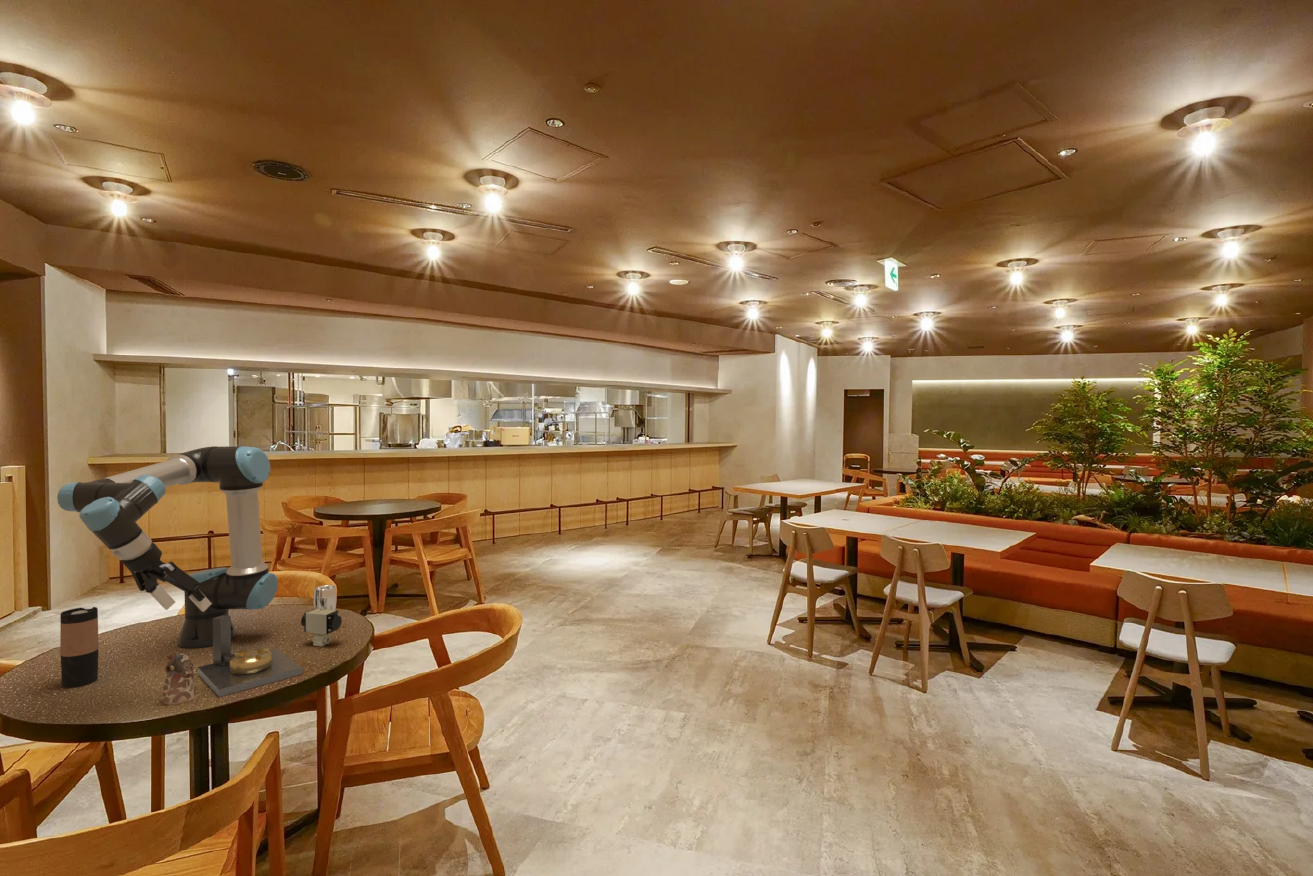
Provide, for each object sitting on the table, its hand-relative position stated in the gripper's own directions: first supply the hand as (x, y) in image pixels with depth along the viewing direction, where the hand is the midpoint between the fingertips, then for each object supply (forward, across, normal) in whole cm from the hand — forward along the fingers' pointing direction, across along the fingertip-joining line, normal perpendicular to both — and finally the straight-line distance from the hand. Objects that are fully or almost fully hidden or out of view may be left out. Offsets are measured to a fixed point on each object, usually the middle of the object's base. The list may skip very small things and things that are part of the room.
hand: (188, 606), depth 166 cm
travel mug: (+12, -32, -18) cm, 38 cm away
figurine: (+15, +4, -18) cm, 24 cm away
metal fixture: (+22, +5, -2) cm, 23 cm away
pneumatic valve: (+39, +8, +17) cm, 43 cm away
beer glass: (+45, -3, +27) cm, 52 cm away
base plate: (+24, +7, -3) cm, 26 cm away
